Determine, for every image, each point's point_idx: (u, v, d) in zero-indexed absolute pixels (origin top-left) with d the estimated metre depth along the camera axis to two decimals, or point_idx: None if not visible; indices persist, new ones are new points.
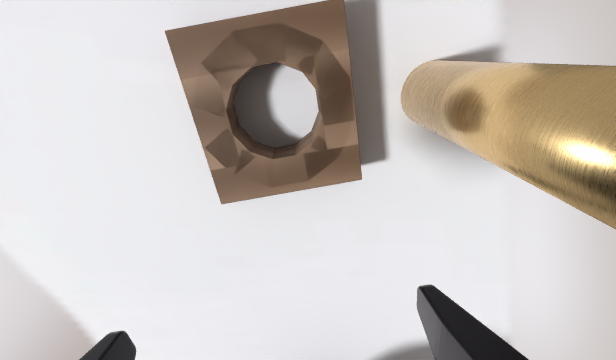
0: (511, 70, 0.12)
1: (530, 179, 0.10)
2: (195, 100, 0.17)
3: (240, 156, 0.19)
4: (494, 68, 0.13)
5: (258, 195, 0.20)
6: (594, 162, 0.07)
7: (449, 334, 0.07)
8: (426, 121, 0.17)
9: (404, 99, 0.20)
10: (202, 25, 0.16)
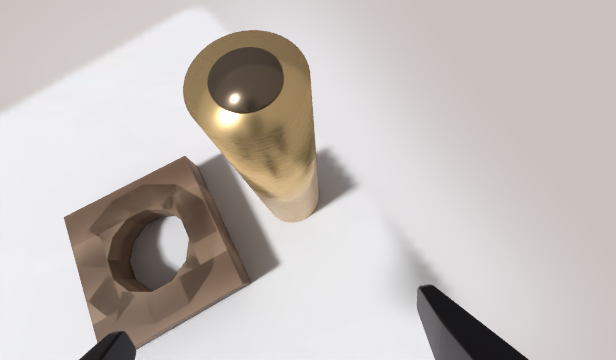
0: None
1: (239, 167, 0.12)
2: (82, 260, 0.21)
3: (121, 299, 0.20)
4: None
5: (141, 339, 0.19)
6: None
7: (449, 334, 0.07)
8: (266, 205, 0.20)
9: None
10: (90, 204, 0.22)
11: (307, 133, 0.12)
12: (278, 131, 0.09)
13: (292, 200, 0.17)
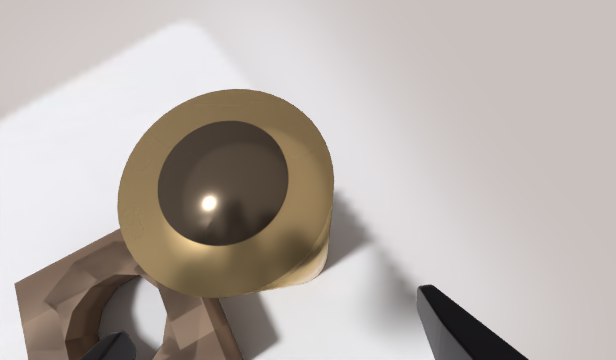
0: None
1: None
2: (33, 341, 0.17)
3: None
4: None
5: None
6: None
7: (449, 334, 0.07)
8: None
9: None
10: (48, 267, 0.18)
11: (324, 241, 0.07)
12: (279, 278, 0.05)
13: (297, 284, 0.13)
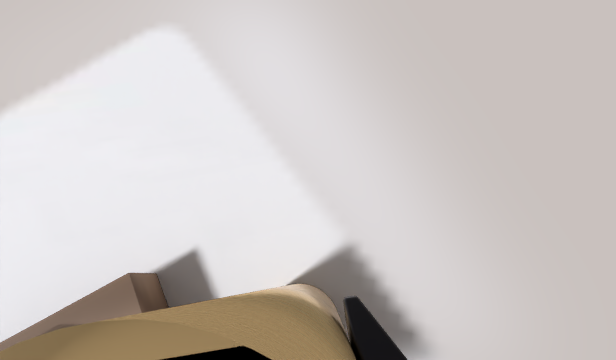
0: None
1: None
2: None
3: None
4: None
5: None
6: None
7: (356, 348, 0.07)
8: None
9: None
10: None
11: None
12: None
13: None
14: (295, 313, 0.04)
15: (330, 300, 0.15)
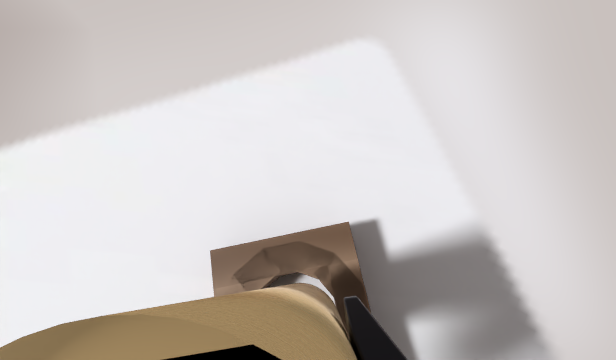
0: None
1: None
2: None
3: None
4: None
5: None
6: None
7: (356, 348, 0.07)
8: None
9: None
10: (239, 245, 0.20)
11: None
12: None
13: None
14: (296, 311, 0.04)
15: (330, 299, 0.15)
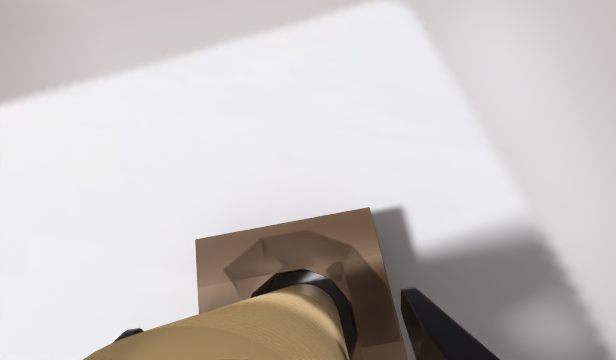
0: None
1: None
2: None
3: None
4: None
5: None
6: None
7: (428, 337, 0.07)
8: None
9: None
10: (232, 234, 0.16)
11: None
12: None
13: None
14: (293, 317, 0.06)
15: (330, 299, 0.16)
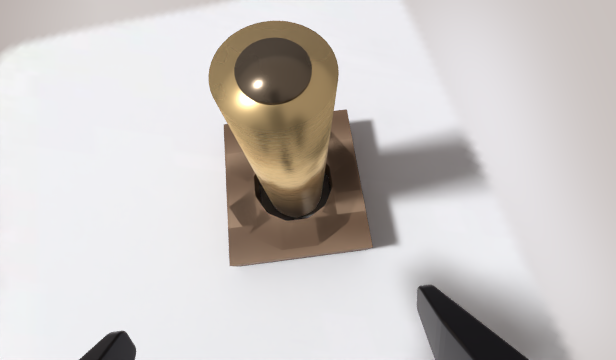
0: None
1: (256, 159, 0.12)
2: (231, 168, 0.22)
3: (258, 216, 0.21)
4: None
5: (268, 258, 0.20)
6: None
7: (449, 334, 0.07)
8: (271, 198, 0.20)
9: None
10: None
11: (327, 128, 0.12)
12: (304, 124, 0.09)
13: (300, 195, 0.17)
14: None
15: None
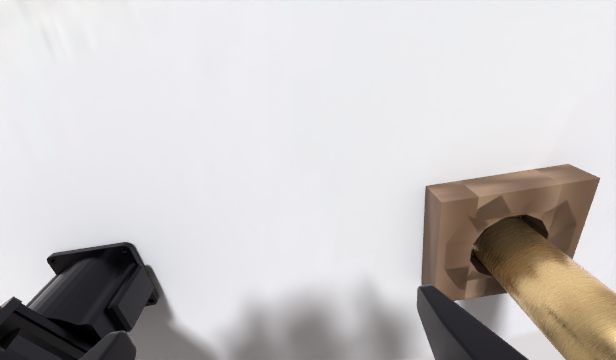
0: None
1: None
2: (542, 192, 0.20)
3: (483, 221, 0.21)
4: None
5: (441, 233, 0.21)
6: None
7: (449, 334, 0.07)
8: (505, 246, 0.20)
9: None
10: (590, 204, 0.21)
11: None
12: None
13: (518, 299, 0.19)
14: None
15: None
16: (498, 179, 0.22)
